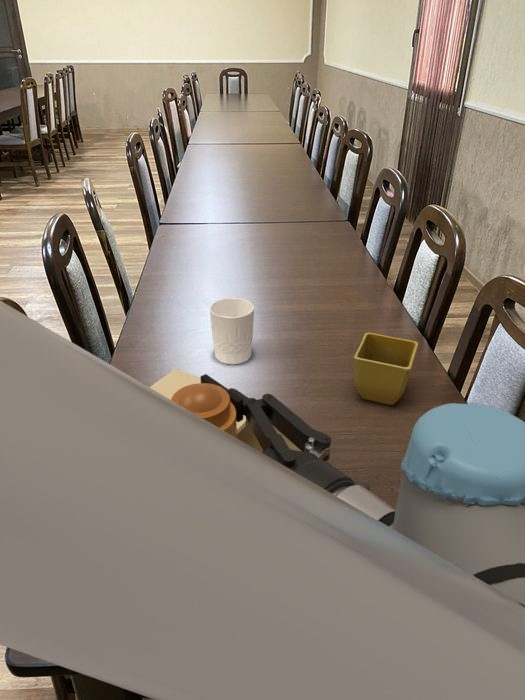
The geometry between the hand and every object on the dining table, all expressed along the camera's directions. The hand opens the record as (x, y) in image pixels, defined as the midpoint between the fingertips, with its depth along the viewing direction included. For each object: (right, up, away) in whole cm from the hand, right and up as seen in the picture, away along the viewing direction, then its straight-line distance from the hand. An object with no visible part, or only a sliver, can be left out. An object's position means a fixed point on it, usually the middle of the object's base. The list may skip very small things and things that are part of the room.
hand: (174, 398), depth 59 cm
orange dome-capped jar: (+3, -7, 0) cm, 8 cm away
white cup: (+4, +4, +42) cm, 42 cm away
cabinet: (0, -11, +17) cm, 20 cm away
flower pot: (+29, -2, +31) cm, 43 cm away
